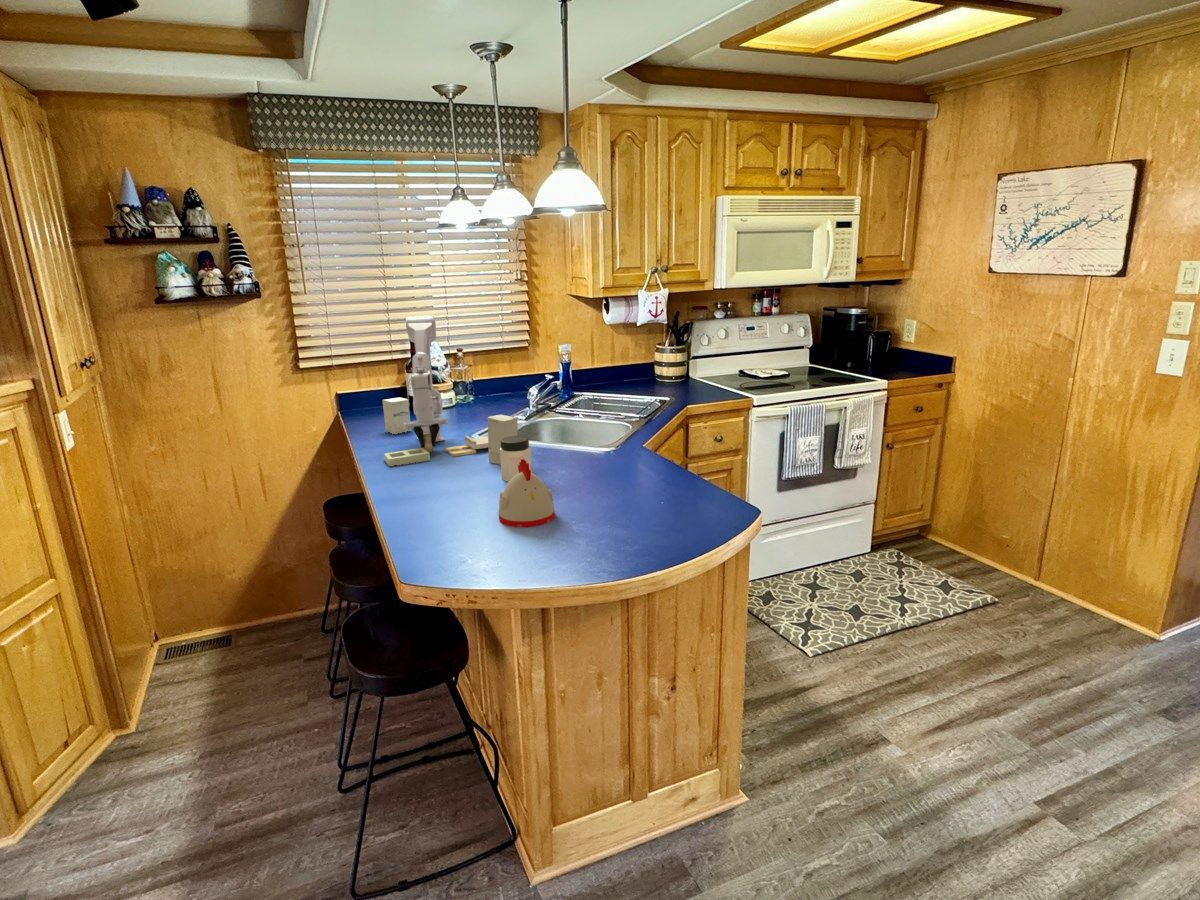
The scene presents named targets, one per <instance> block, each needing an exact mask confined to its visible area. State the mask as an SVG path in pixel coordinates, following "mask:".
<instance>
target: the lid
mask: <svg viewBox="0 0 1200 900" xmlns="http://www.w3.org/2000/svg"><path fill="white" fill-rule="evenodd" d="M464 443H465V444H464V445H468V446H469V447H471V448H472V449H475V450H479V449H486V448H488V435H487V436H479V437H473V438H471V437H470V436H468V435H465V436H464Z"/></svg>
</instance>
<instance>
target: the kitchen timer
mask: <svg viewBox="0 0 1200 900" xmlns="http://www.w3.org/2000/svg"><path fill="white" fill-rule="evenodd" d="M518 471H519V473H518V474H516V475H515V476H514V477H513V478H512V479H511V480H510V481H509V482H507V484H506V485H505V487H504V490H503V492H501V491H500V493H499V500H498V504H499V506H498V520H499V523H501V524H502V525H504V526H507V527H512V528H522V529H524V528H534V527H539V526H543V525H546V524H548V523H550V522H552V521H553V520H554V519H555V506H554V505H555V504H554V498H553V493H552V490H551V488H549V489H548V488H547V486H546V485H545V483H544V481H543V480H541V479H540V477H538V476H537V475H536V474H534V473H533V472H532V473H531V470H529V463H527V462H526V461H525V459H521V462H519V465H518Z"/></svg>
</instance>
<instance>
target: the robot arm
mask: <svg viewBox="0 0 1200 900" xmlns="http://www.w3.org/2000/svg"><path fill="white" fill-rule="evenodd" d="M405 327H406V332H407V336H408V339H409V341H410V342H412V343H414V348H415V354H414V355H413V356H412V360H411V361H412V374H410V384H411V389H412V395H413V396H412V400H413V402H412V408H413V409H412V410H413V414H414V415H415V418H416V419H415V420H412V421H410V422H407V423H403V426H404V429H405V430H408V429H411V430H413V433H414V434H415V435H416V439H417V440H418V442H419V445H420V448H424V440H423V434H424V433H431V436H432V447H433V448H435V447H436V442H442V441H445V440H446V439H445V438H444V437H442V434H441V432H442V431H441V425H448V424H449V423H448V418H447V417H440V415H442V413H443V400H442V395H441V393H440V391H438V390H436V389H435V388H433V374H432V358H431V347H432V346H431V345H432V343H433V342H435V341H436V338H437V326H436V317H435V316H434V315H430V316H407V317H406V318H405Z"/></svg>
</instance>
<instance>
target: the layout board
mask: <svg viewBox="0 0 1200 900" xmlns="http://www.w3.org/2000/svg"><path fill="white" fill-rule="evenodd" d="M444 451H445V452H446V453H448V454H449V455H450V456H451V457H452V458H454V457H456V458H457V457H461V456H466V455H474V454H477V449H472V448H471V447H469V446H468V445H466V444H464V445H463V444H462V445H457V446H451V447H449V446H448V447H445V448H444Z"/></svg>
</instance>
